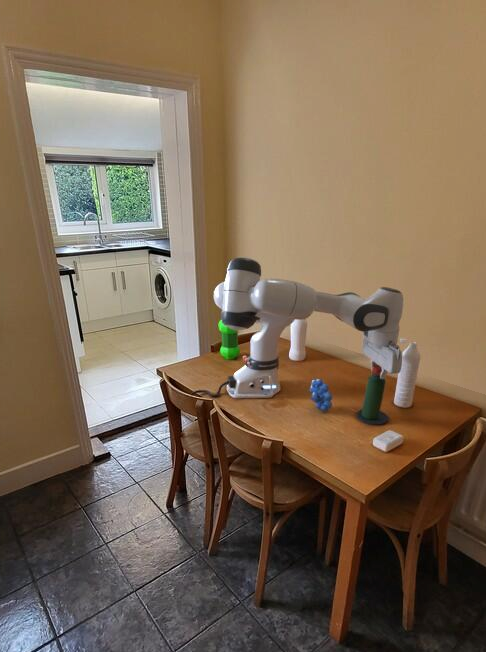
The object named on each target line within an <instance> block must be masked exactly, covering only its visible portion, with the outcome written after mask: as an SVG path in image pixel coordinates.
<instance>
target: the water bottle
mask: <svg viewBox="0 0 486 652" xmlns="http://www.w3.org/2000/svg"><path fill="white" fill-rule="evenodd" d="M399 342H400V343H403V344H406V343H408V339H407V338H404V337H402V338H399ZM417 346H418V345H417V342H415V341H410V342H409V344H408V347H406V348H405V349H404V350H403V352H402V367H401V371H400V372H399V373H397V378H396V379H397V381H396V386H395V393H394V398H393V404H394V405H395V406H397V407H399V408H403V409H404V408H405V409H407V408H411V407H412V405H413V399H414V394H415V389H416V384H417V378H418V372H419V366H420V361H421V353H420V351H419V349H418V347H417Z"/></svg>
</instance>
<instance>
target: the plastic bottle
mask: <svg viewBox="0 0 486 652" xmlns="http://www.w3.org/2000/svg"><path fill="white" fill-rule="evenodd" d="M217 325H218V326H217V327H218V330H219V331H220V332H221V347H220V349H219V353H220V355H221V356H222V357H224V358H225V359H226V360H235V359H236V358H238V356H239V354H240V352H241V347H240V346H239V330H233V329H231V328H229V327H227V326H225V325H224V324H223V323H222V320H221V319H220V320H219V322H218V324H217Z"/></svg>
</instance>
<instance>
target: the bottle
mask: <svg viewBox="0 0 486 652" xmlns="http://www.w3.org/2000/svg"><path fill="white" fill-rule="evenodd" d="M307 331H308V321H307V318H306V319H302V320H294V322H293V323H292V324H291V325H290V349H289V351H288V353H289V354H288V357H289V359H290V360H291V361H294V362H302V361H304V360H305V359H306V356H307V355H306V354H307V352H306V351H307V350H306V341H307Z"/></svg>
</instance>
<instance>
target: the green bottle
mask: <svg viewBox="0 0 486 652" xmlns="http://www.w3.org/2000/svg"><path fill="white" fill-rule="evenodd" d="M386 381H387V380H386V378H385V379H380V378H379V375H375V374H373V373H371V375H370V376H369V377H368V378H367V382H366V387H365V391H364V397H363V403H362V409H361V410H362V413H361V415H362V416H363V417H364V418H366V419H370V420H375V419H378V417H379V412H380V411H381V407H382V401H383V398H384V393H385V388H386V383H387V382H386Z"/></svg>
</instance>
